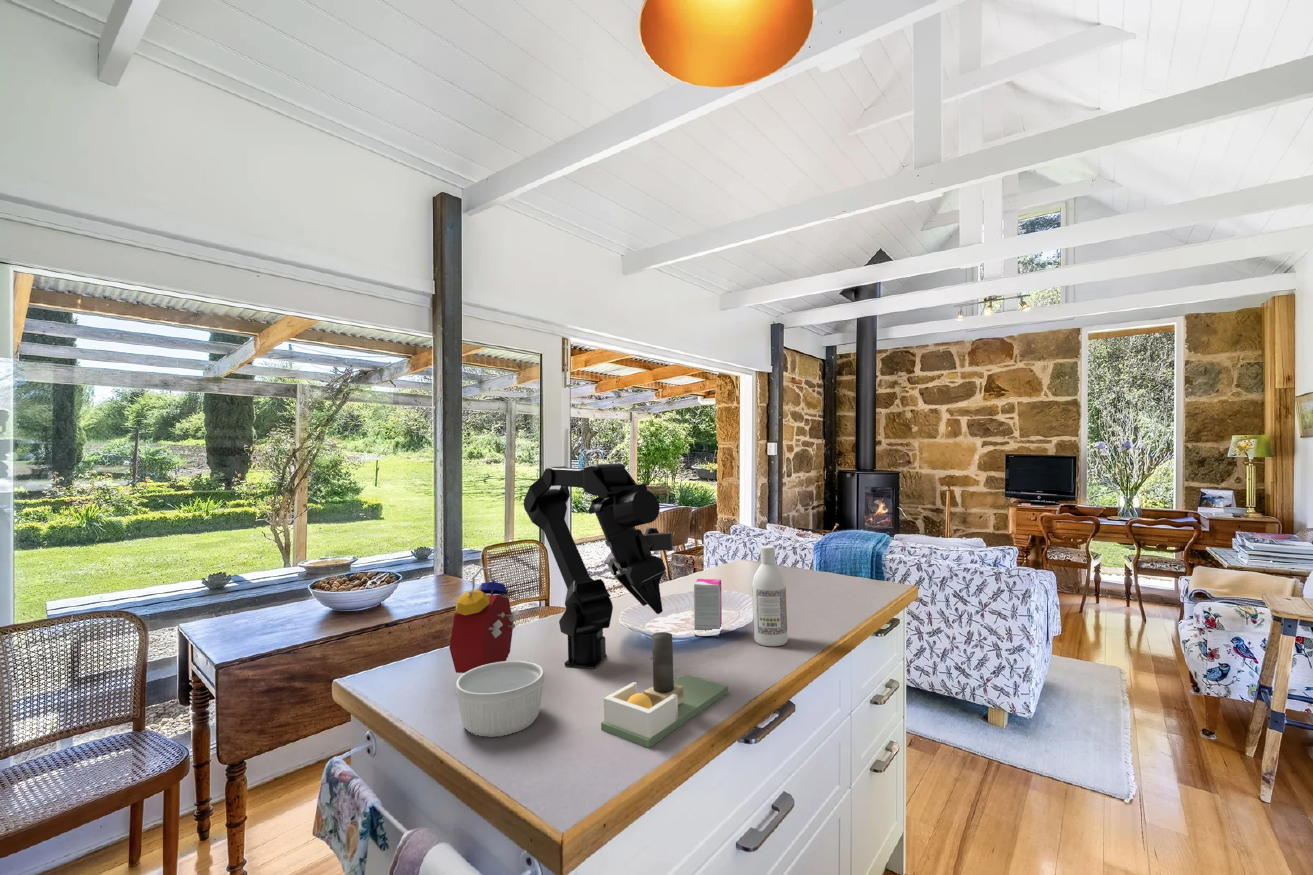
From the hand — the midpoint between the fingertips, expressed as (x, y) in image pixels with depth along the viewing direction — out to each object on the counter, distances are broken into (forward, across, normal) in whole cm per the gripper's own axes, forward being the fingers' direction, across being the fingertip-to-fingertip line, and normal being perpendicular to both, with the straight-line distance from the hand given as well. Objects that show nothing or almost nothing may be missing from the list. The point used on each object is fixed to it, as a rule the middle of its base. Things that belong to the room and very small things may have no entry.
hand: (652, 608), depth 102 cm
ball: (+8, -17, +11) cm, 21 cm away
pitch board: (+12, -12, +6) cm, 18 cm away
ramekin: (+3, -6, +30) cm, 31 cm away
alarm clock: (0, +14, +31) cm, 34 cm away
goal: (+10, -16, +11) cm, 22 cm away
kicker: (+10, -13, +7) cm, 18 cm away
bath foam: (+21, +9, -22) cm, 32 cm away
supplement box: (+16, +20, -14) cm, 29 cm away
